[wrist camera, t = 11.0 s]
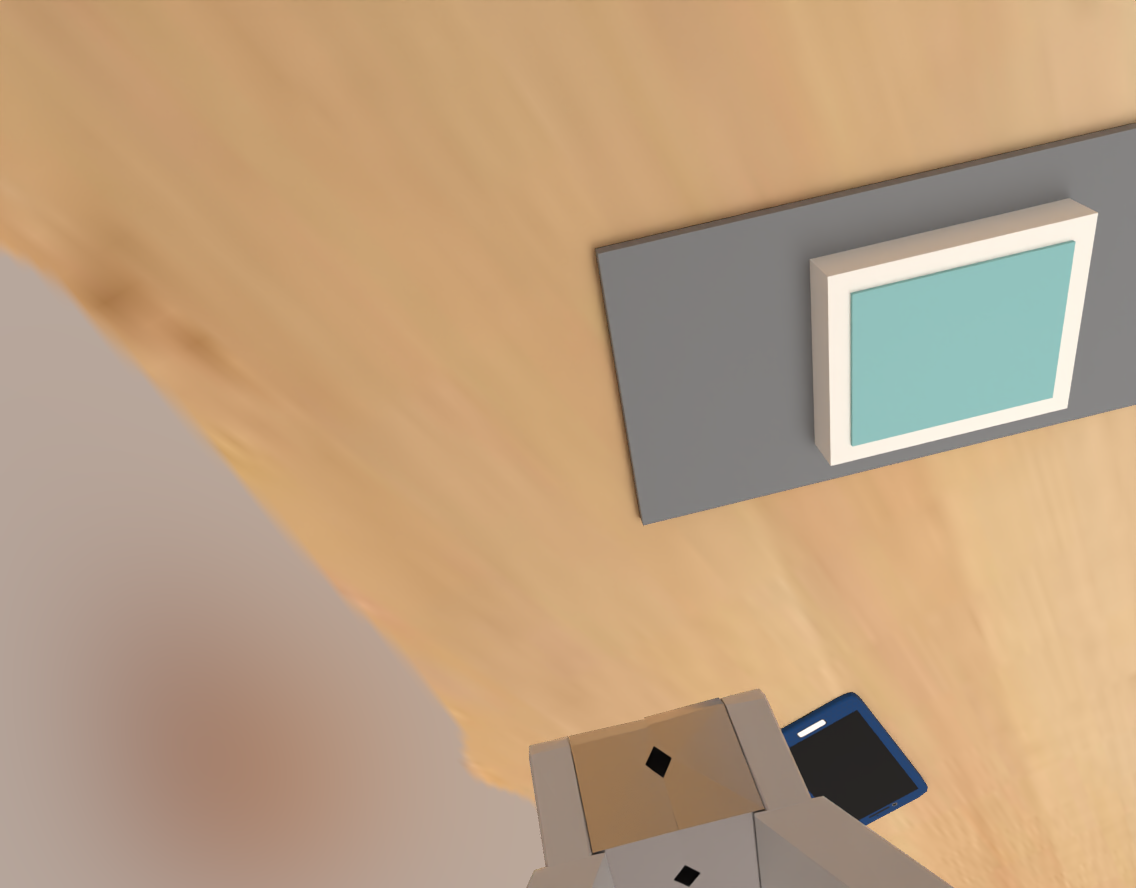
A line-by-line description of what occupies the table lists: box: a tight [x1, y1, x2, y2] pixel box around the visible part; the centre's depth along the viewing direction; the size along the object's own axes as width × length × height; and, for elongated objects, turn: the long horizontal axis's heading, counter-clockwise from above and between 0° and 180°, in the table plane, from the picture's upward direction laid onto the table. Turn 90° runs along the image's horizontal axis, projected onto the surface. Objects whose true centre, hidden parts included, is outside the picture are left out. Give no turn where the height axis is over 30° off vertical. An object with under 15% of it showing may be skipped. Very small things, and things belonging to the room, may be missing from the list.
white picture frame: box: [810, 198, 1098, 466], centre depth 42 cm, size 10×2×12 cm
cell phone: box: [781, 692, 928, 826], centre depth 62 cm, size 7×14×1 cm, turn 34°
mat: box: [595, 123, 1136, 525], centre depth 43 cm, size 15×30×1 cm, turn 100°
